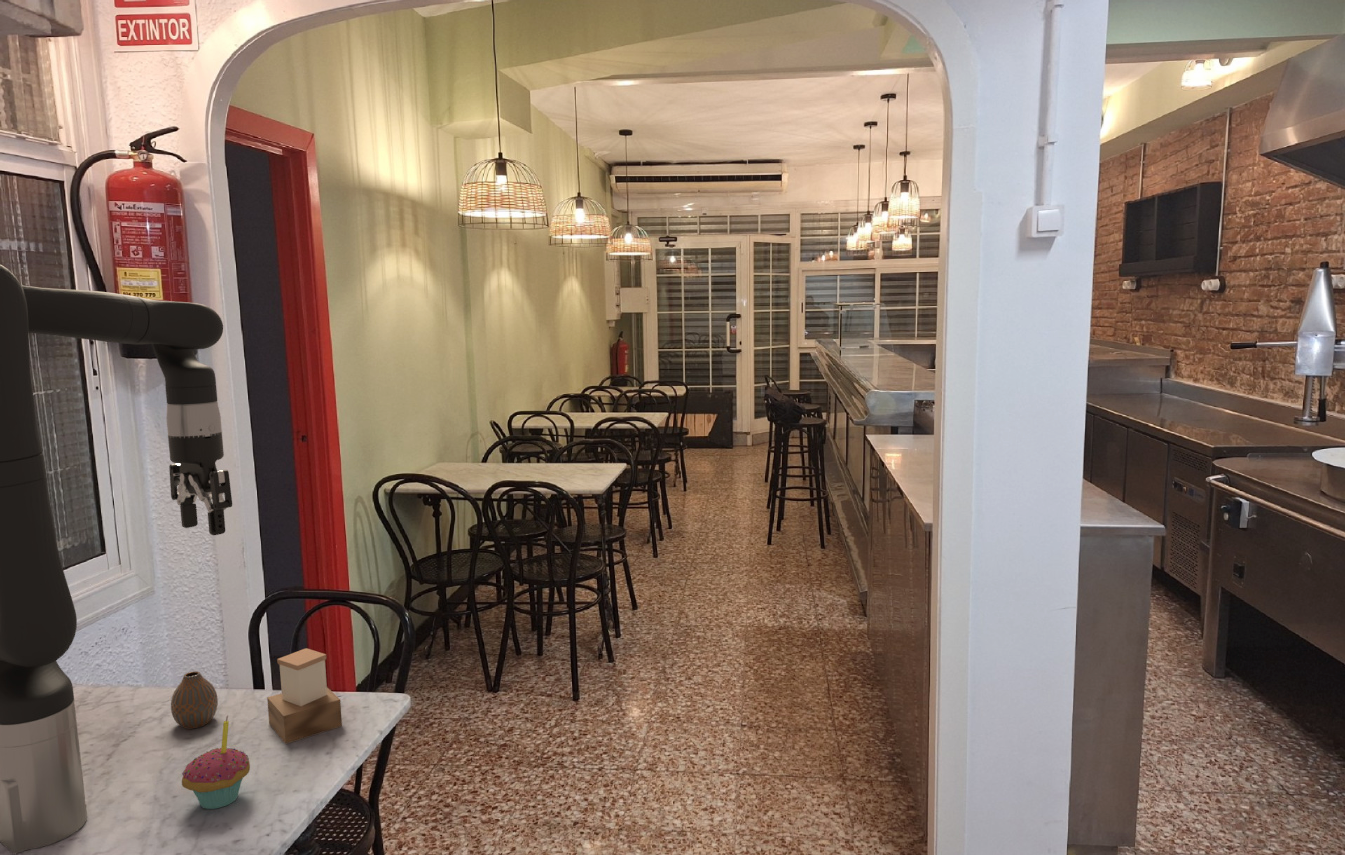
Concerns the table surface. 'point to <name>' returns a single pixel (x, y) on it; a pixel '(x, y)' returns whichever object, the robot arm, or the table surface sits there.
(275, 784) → the table surface
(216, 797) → the cupcake
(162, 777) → the table surface
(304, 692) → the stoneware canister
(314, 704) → the brown wooden block
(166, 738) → the table surface
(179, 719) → the vase
